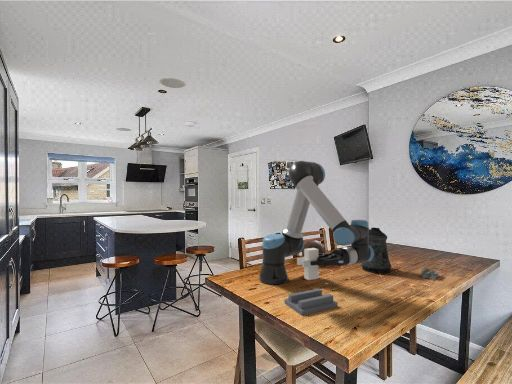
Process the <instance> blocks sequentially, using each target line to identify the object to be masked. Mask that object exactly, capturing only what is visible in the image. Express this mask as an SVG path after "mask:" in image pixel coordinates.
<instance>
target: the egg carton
mask: <svg viewBox="0 0 512 384" xmlns="http://www.w3.org/2000/svg"><path fill="white" fill-rule="evenodd" d="M439 273H440V272H439V270H438V271H437V270H434V269H432V270H430V268H427V267H426V266H425V267H423V269H422V270H421V272H420V274H421V277H422V278H424V279H426V278H427V279H430V280H436V279H437V278H438V276H439Z"/></svg>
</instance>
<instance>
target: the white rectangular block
mask: <svg viewBox="0 0 512 384" xmlns="http://www.w3.org/2000/svg"><path fill="white" fill-rule="evenodd" d="M317 257H318V249H316V248H308V249H304V260H308V259H315V258H316V259H317ZM319 273H320V271H319V266H318V265H317V266H310V267H303V274H304V277H303V278H304V279H305V280H307V281H310V280H311V281H312V280H317V279H320V278H319V277H320V275H319Z"/></svg>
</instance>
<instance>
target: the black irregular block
mask: <svg viewBox="0 0 512 384" xmlns="http://www.w3.org/2000/svg"><path fill="white" fill-rule="evenodd" d="M387 240H388V235H387V234H386V233H384V232H383V231H381V229H380V228H379V227H371V228H369V246H370V247H372V249H373V251H374V257H373V259H372V260H371V261H368V262H365V263H360V264H361V265H360V266H361V269H362V270H363V271H365V272H367V273H371V274H376V275H378V274H379V275H386V274H390V273H391V271H392V270H391V269H392V264H391V262H390V258H389V252H388V246H387Z"/></svg>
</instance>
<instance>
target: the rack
mask: <svg viewBox="0 0 512 384" xmlns="http://www.w3.org/2000/svg"><path fill="white" fill-rule="evenodd" d="M287 295H288V297H287V298H285V299H284V300H283V301H284V304H285V305H286V306H288V307H289V308H290V309H292V310H293V311H294V312H296V313H297V314H299V315H300V316H303V315H307V314H309V315H310V314H312V313H316V312H320V311H325V310H329V309H333V308H337V307H338V306H339V305H338V302H337V301H335V300H334V295H332V294H330V293H327V294H323V289H321V288H314V289H310V290H306V291H304V290H303V291H300V292H295V293H289V294H287Z"/></svg>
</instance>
